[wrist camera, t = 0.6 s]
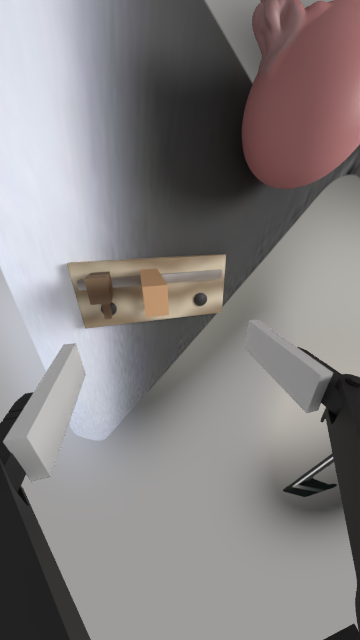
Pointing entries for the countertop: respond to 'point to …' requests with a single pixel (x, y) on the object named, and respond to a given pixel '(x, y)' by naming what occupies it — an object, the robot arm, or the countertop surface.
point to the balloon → (303, 91)
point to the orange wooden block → (154, 293)
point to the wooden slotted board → (126, 290)
